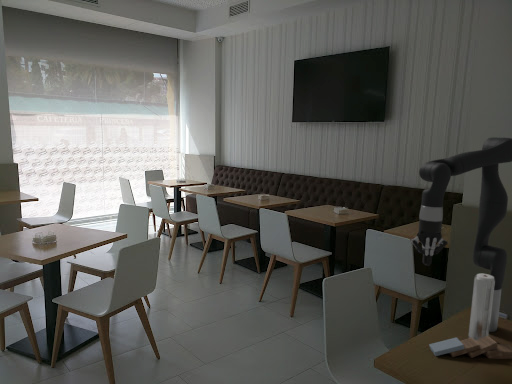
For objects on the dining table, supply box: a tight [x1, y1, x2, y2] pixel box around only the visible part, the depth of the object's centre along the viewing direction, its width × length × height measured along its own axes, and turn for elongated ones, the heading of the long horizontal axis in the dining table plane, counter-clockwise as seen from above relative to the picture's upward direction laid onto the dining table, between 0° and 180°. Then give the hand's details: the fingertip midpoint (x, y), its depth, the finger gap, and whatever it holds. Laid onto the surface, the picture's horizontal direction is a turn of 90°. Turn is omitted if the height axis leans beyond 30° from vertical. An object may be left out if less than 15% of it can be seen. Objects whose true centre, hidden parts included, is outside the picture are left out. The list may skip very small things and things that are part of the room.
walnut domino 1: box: [448, 337, 481, 358], centre depth 137 cm, size 2×5×10 cm
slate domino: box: [428, 336, 464, 357], centre depth 138 cm, size 2×5×10 cm
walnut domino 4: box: [482, 353, 512, 360], centre depth 138 cm, size 2×5×10 cm
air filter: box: [468, 273, 495, 341], centre depth 146 cm, size 6×6×25 cm
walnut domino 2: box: [465, 336, 498, 359], centre depth 137 cm, size 2×5×10 cm
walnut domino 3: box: [484, 343, 512, 356], centre depth 137 cm, size 2×5×10 cm
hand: (426, 264), depth 143 cm, fingers closed
